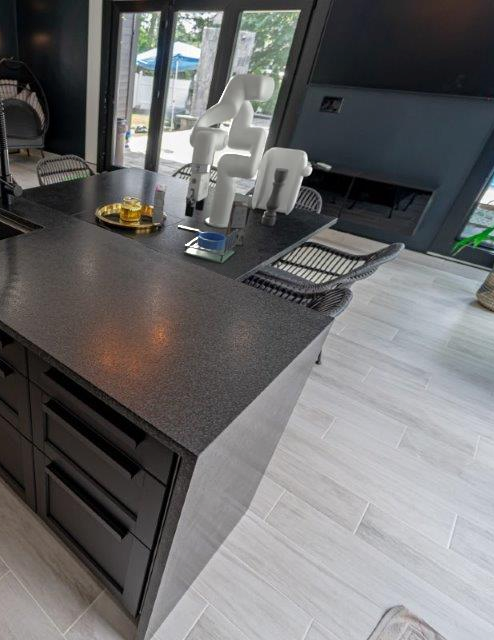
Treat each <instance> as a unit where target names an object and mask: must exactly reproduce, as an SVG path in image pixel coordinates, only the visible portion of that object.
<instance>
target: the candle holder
mask: <svg viewBox="0 0 494 640" xmlns="http://www.w3.org/2000/svg"><path fill="white" fill-rule="evenodd" d="M288 172H289V170H288V169H283V168H276V170H275V174H274V180H275V182H273V183H272V184H273V189H272V193H271V195H270V197H269V199H268V200H267V202H266V207H267V210H266V211H264V212H263V215H262V217H261V222H260V224H262V226H263V225H264V226H268V227H270V226H272V227H273V226H275V224H276V220H277V217H276V216H277V211H276V209H277V208H278V207H279V206H280V193H281V189H282V187H283V186H284V183H283V182H284V181H285V180H286V178H287V175H288Z"/></svg>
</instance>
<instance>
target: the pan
mask: <svg viewBox="0 0 494 640" xmlns="http://www.w3.org/2000/svg"><path fill="white" fill-rule="evenodd" d="M177 230H180V231H184V232H187V233H192V234H194V236H195V237H198V240H196V243H197V244H198V246H200V247H201V248H205V249H208V250H219V249H223V248H224V247H225V245H226V244H225V242H226V235H224V234H222V233H219V232H215V231H203V232H202V231H201V230H200V229H197V228H194V227H193V228H192V227H190V226H189V227H188V226H184V225H180V224H179V225H178V226H177ZM224 249H225V248H224Z"/></svg>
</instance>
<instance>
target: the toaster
mask: <svg viewBox="0 0 494 640" xmlns="http://www.w3.org/2000/svg"><path fill="white" fill-rule="evenodd" d="M308 160H309V159H308V154H307V152H306V151H304V150H301V149H294V148H293V149H292V148H285V147H276V146H275V147H271V148H270V149H268V150H266V152H265V153H264V154H263V156H262V157H261V159H260V162H259V166H258V169H257V177H256V180H255V185H254V189H253V193H252V197H251V209H252V210H255V209H259V210H260V209H261V210H266V211H267V207H266V202H267V200H268V199H269V197H270V195H271V193H272V189H273V184H272V183H273V182H275V180H274V174H275V170H276V168H283V169H288V170H289V172H288V175H287V178H286V180H285V181H284V182H283V183H284V186H283V187H282V189H281V193H280V206H279V207H278V208H277V209H276V211H275V212H276V213H283V214H285V216H288V215H289V214H290V213H291V212H292V211H293V209H294V207H295V205H296V202H297V199H298V196H299V193H300V189H301V187H302V186H301V185H302V182H303V180H304V177H308V176H310V175H311V174H312V172H313V167H312V166H310V165H308Z"/></svg>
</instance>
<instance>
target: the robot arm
mask: <svg viewBox="0 0 494 640" xmlns="http://www.w3.org/2000/svg"><path fill="white" fill-rule="evenodd" d="M275 87H276V82H275V79H274V77H272V76H270V75H265V74H261V73H260V74H259V73H237V74H235V75H233V76H232V77H231V78H230V79H229V81H228V83H227V84H226V87H225V89H224V91H223V93H222V95H221V97H220V99H219V101H218V103H216V104H215V105H213V106H211V107H210V108H208V109H207V110H205V111H204V112H202V114H200V115H199V117H198V118H197V120H196V121H195V123H194V125H193V127H192V129H191V132H190V134H189V145H190V147H192V148H193V150H192V156H191V162H190V164H191V165H190V171H189V172H190V178H189V181H188V187H187V193H186V197H185V210H184V217H189V218H193V217H194V211H195V210H196V211H200V212H202V211H204V208H205V207H204V205H205V201H206V198H207V197H208V194H209V187H210V179H211V178H210V177H211V172H212V167H213V161H214V154H215V152H221V151H223V150H224V149H226V147H227V148H228V149H230V150H235V151H243V152H249V154H243V153H238V152H224V153H222V154H221V155H220V156H219V157H218V159H217V163H216V179H215V186H214V191H213V196H212V202H211V208H210V213H209V217H207V218H206V219H205V224H206V225H208V226H209V227H214V228H221V229H223V228H224V229H225V228H226V229H227V227H228V222H229V218H230V213H231V208H232V204H233V201H235V196H236V193H237V182H236V180H235V178H239V179H246V180H250V179H253V178H254V177H256V174H257V173H258V170H257V169H258V166H259V162H260V160H262V155H263V151H264V147H265V144H266V138H267V132H266V130H265V128H264V127H259V126H252V124H253V120H254V117H255V116H254V115H255V112H254V111H255V110H254V108H253V105H252V102H261V103H266V102H269V100H270V99H271V98H272V97H273V95H274V92H275ZM228 121H231V122H230V124H229V129H228V131H227V130H226V129H224V128H218V127H211V126H214V125H217V124H222V123H225V122H228Z"/></svg>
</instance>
